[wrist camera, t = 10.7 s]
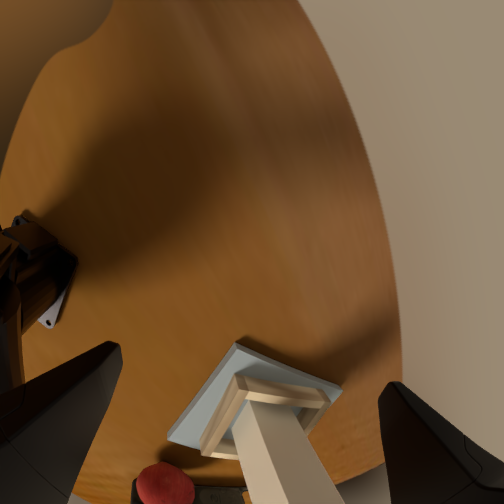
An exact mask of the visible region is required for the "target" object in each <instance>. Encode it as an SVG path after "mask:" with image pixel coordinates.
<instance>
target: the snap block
mask: <svg viewBox="0 0 504 504" xmlns="http://www.w3.org/2000/svg"><path fill="white" fill-rule="evenodd" d="M231 430H232V434H233V438H234V441H235V445H236V449H237V453H238V457H239V460H240V464H241V467H242V471H243V474H244V478H245V481H246V485H247V488H248V491H249V495H250V498H251V501H252V504H345V502H344V501H343V499H342V497H341V496H340V494H339V492H338V491H337V489H336V487H335V486H334V484H333V482H332V480H331V479H330V477H329V475H328V474H327V472H326V470H325V468H324V467H323V465H322V463H321V461H320V460H319V458H318V456H317V454H316V453H315V451H314V449H313V447H312V445H311V444H310V442H309V440H308V438H307V436H306V435H305V433H304V431H303V429H302V427H301V425H300V424H299V422H298V420H297V418H296V416H295V414H294V412H293V411H292V409H291V407H290V406H288V405H280V404H273V403H266V402H260V401H254V400H248V401H247V403H246V405H245V407H244V408H243V410H242V412H241V413H240V415H239V417H238V419H237V420H236V422H235V424H234V425H233V427H232V429H231Z"/></svg>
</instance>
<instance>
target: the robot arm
mask: <svg viewBox="0 0 504 504" xmlns="http://www.w3.org/2000/svg"><path fill="white" fill-rule="evenodd" d="M18 220H20V225H19V224H18ZM70 259H72V261H73V265H71V264H70V262H69V260H70ZM77 266H78V259H77V257H76V256H75V255H74V254H72V253H71V252H70V251H68V250H67V249H65V248H64V247H63V246H61V245H60V244H58V240H57V239H56V238H55V237H54V236H52V235H51V234H50V233H48V232H47V231H46V230H44V229H43V228H42V227H40V226H39V225H38V224H37V223H35V222H29V221H28V220H27V219H26V218H24V217H23V216H22V215H19V216H16V217H15V218H14V220H13V223H12V225H11V227H9V228H5V229H3V230H2V228H1V226H0V504H67V503H68V500H69V497H70V495H71V492H72V489H73V487H74V484H75V482H76V479H77V477H78V474H79V472H80V469H81V467H82V465H83V462H84V460H85V457H86V455H87V453H88V450H89V448H90V446H91V444H92V441H93V439H94V437H95V435H96V432H97V430H98V428H99V426H100V424H101V422H102V419H103V417H104V415H105V413H106V411H107V409H108V406H109V404H110V401H111V398H112V395H113V392H114V390H115V387H116V384H117V381H118V378H119V375H120V372H121V370H122V366H123V360H122V353H121V347H120V345H119V344H118V343H115V342H112V341H106V342H104V343H102V344H100V345H98V346H96V347H94V348H92V349H90V350H88V351H87V352H85V353H83V354H81V355H79V356H77V357H75V358H73V359H71V360H69V361H67V362H65V363H63V364H61V365H59V366H57V367H55V368H54V369H52V370H50V371H48V372H46V373H44V374H42V375H40V376H38V377H36V378H34V379H32V380H30V381H28V382H26V383H25V376H24V367H23V356H22V341H21V336H22V335H23V334H24V333H25V332H26V331H27V330H28V329H29V328H30V327H31V326H32V325H33V324H34V323H35V322H36V321H37V320H38V321H39V322H40V323H42V324H43V325H44V326H46V327H47V328H49V329H51V328H53V327H54V326H55V324H56V321H57V318H58V315H59V312H60V310H61V307H62V304H63V301H64V298H65V296H66V293H67V290H68V288H69V285H70V283H71V280H72V278H73V275H74V273H75V271H76V268H77ZM48 320H50V321H51V323H49V321H48ZM378 409H379V419H380V430H381V439H382V445H383V451H384V456H385V462H386V468H387V475H388V482H389V489H390V497H391V504H504V463H503V462H502V461H501V460H499V459H498V458H496V457H494V456H493V455H492V454H490V453H489V452H487V451H486V450H484V449H483V448H481V447H480V446H478V445H477V444H476V443H474V442H473V441H472V440H471V439H469V438H468V437H467V436H466V435H463V433H462V432H461V431H459V430H458V429H457V428H456V427H455V426H454V425H452V424H451V423H450V422H449V421H447V420H446V419H445V418H444V417H443V416H441V415H440V414H439V413H438V412H436V411H435V410H434V409H433V408H432V407H430V406H429V405H428V404H427V403H425V402H424V401H423V400H422V399H420V398H419V397H418V396H417V395H416V394H415V393H413V392H412V391H411V390H410V389H408V388H407V387H406V386H405V385H404V384H402V383H401V382H399V381H392V382H389V383H388V384H387V385H386V387H385V388H384V390H383V392H382V393H381V395H380V396H379V398H378Z"/></svg>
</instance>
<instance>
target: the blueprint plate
mask: <svg viewBox="0 0 504 504" xmlns="http://www.w3.org/2000/svg"><path fill="white" fill-rule="evenodd" d="M234 373H235V374H239V375H244V376H248V377H253V378H258V379H263V380H268V381H273V382H279V383H284V384H290V385H296V386H303V387H310V388H317V389H323V391H324V392H325V393H326V395H327V396H328V398H329V399H330V400H331V402H332V403H333V402H334V401H335V400H336V399H337V398H338V396H339V395H340V394H341V393H342V392H343V390H342V389H341V388H340V387H339V385H336V384H334V383H331V382H328V381H326V380H323V379H320V378H318V377H315V376H312V375H310V374H307V373H305V372H302V371H300V370H297V369H295V368H292V367H290V366H287V365H285V364H283V363H280V362H278V361H276V360H273V359H271V358H269V357H266V356H264V355H262V354H259V353H257V352H255V351H253V350H251V349H248V348H246V347H244V346H242V345H240V344H238V343H236V342H234V344H233V345H232V347H231V348H230V349H229V351H228V352H227V354H226V355H225V356H224V358H223V359H222V361H221V362H220V363H219V365H218V366H217V367H216V369H215V370H214V372H213V373H212V374H211V376H210V377H209V378H208V380H207V381H206V382H205V384H204V385H203V387H202V388H201V389H200V391H199V392H198V393H197V395H196V396H195V397H194V399H193V400H192V401H191V403H190V404H189V405H188V406H187V408H186V409H185V410H184V412H183V413H182V414H181V416H180V417H179V418H178V420H177V421H176V422H175V423H174V425H173V426H172V427H171V429H170V430H169V431H168V432H167V440H169V441H172V442H175V443H178V444H181V445H185V446H188V447H191V448H195V449H198V450H200V442H199V439H200V437H201V435H202V434H203V432H204V430H205V428H206V426H207V424H208V422H209V421H210V419H211V417H212V415H213V413H214V411H215V409H216V407H217V405H218V403H219V402H220V400H221V398H222V396H223V394H224V392H225V390H226V388H227V386H228V384H229V382H230V380H231V378H232V376H233V374H234ZM247 401H248V399H244V401H243V403H242V405H241V406H240V408H239V410H238V412H237V413H236V415H235V417H234V418H233V420H232V422H231V423H230V425H229V427H228V428H227V430H226V432H225V433H224V435H223V437H222V438H225V439H232V440H234V438H233V434H232V430H231V429H232V427H233V425H234V424H235V422H236V420H237V419H238V417H239V415H240V413H241V412H242V410H243V408H244V407H245V405H246V403H247ZM332 403H331V404H332ZM290 407H291V409H292V411H293V412H294V414H295V416H296V417H297V415H298V414H299V412H300V411H301V410H302V408H303V407H297V406H290ZM329 407H330V406H329ZM329 407H328V408H329Z"/></svg>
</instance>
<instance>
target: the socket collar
mask: <svg viewBox="0 0 504 504" xmlns="http://www.w3.org/2000/svg"><path fill="white" fill-rule="evenodd" d="M244 399H248V400H254V401H260V402H266V403H273V404H280V405H288V406H297V407H303V408H302V410H301V411H300V412H299V414H298V415H297V417H296V418H297V420H298V422H299V424H300V425H301V427H302V429H303V431H304V433H305V435H306V436H308V434H309V433H310V432H311V431H312V429H313V428H314V427H315V425H316V424H317V423H318V421H319V420H320V419H321V417H322V416H323V414H324V413H325V412H326V410H327V409H328V407H329V406H330V405H331V403H332V402H331V400H330V399H329V398H328V396H327V395H326V393H325V392H324V391H323V389H317V388H310V387H303V386H296V385H290V384H284V383H279V382H273V381H268V380H263V379H258V378H253V377H248V376H244V375H239V374H235V373H234V374H233V376H232V378H231V380H230V382H229V384H228V386H227V388H226V390H225V392H224V394H223V396H222V398H221V400H220V402H219V403H218V405H217V407H216V409H215V411H214V413H213V415H212V417H211V419H210V421H209V422H208V424H207V426H206V428H205V430H204V432H203V434H202V435H201V437H200V439H199V442H200V450H201V455H202V456H209V457H216V458H225V459H234V460H239V457H238V453H237V449H236V445H235V441H234V440H232V439H225V438H222V437H223V435H224V433H225V432H226V430H227V428H228V427H229V425H230V423H231V422H232V420H233V418H234V417H235V415H236V413H237V412H238V410H239V408H240V406H241V405H242V403H243V401H244Z"/></svg>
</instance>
